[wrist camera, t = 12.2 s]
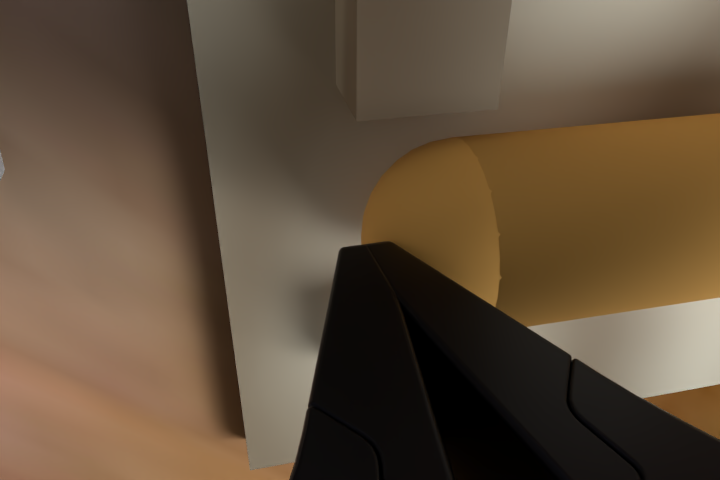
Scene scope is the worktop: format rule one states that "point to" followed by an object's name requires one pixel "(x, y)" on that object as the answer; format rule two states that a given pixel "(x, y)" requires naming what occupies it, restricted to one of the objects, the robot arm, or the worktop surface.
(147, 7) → the worktop surface
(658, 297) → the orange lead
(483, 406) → the robot arm
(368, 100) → the cradle board
